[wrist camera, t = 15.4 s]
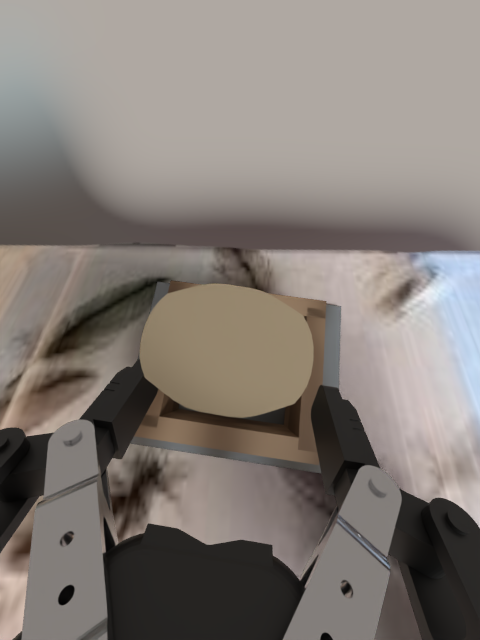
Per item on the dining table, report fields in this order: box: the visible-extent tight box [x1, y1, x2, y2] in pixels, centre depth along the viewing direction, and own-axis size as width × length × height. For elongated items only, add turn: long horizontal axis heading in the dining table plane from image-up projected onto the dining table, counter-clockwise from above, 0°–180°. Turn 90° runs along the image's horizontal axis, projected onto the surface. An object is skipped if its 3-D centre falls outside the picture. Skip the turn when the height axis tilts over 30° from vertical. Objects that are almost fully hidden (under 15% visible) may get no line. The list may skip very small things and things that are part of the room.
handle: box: [140, 283, 314, 418], centre depth 16 cm, size 5×6×15 cm
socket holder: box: [131, 281, 341, 473], centre depth 21 cm, size 20×16×6 cm
